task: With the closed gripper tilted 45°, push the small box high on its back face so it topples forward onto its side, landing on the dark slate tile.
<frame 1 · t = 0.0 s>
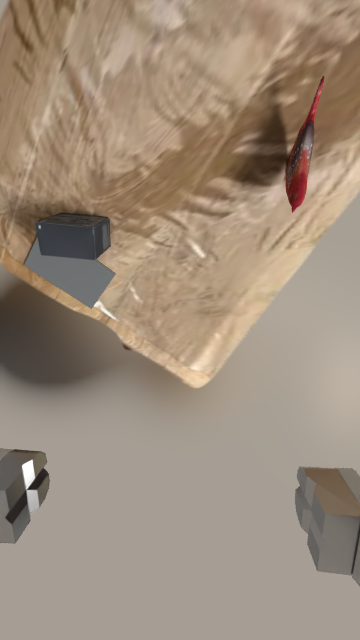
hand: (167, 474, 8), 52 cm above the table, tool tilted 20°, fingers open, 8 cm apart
decorative bird figurine: (293, 151, 47), on the table
slate tile: (70, 268, 62), on the table
small box: (86, 230, 57), on the table, touching slate tile
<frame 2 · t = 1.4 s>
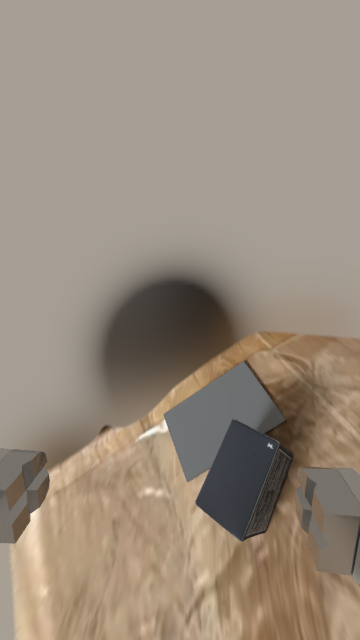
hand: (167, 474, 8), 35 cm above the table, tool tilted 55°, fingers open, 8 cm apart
slate tile: (218, 417, 45), on the table
small box: (258, 478, 37), on the table, touching slate tile
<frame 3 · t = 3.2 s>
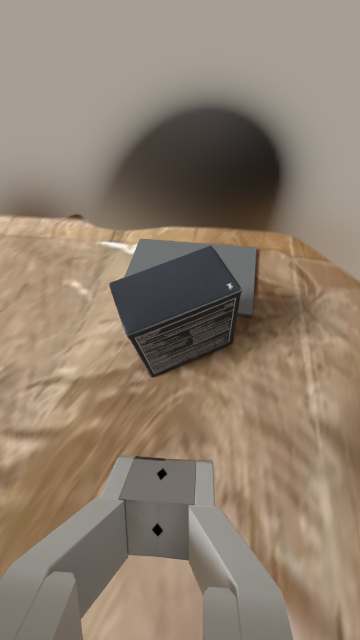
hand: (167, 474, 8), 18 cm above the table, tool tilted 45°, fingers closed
slate tile: (189, 274, 38), on the table
small box: (182, 338, 32), on the table, touching slate tile
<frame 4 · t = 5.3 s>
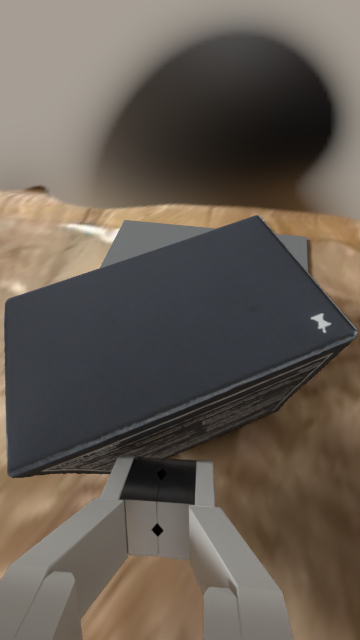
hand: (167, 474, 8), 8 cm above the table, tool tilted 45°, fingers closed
slate tile: (198, 277, 23), on the table
small box: (184, 394, 18), on the table, touching gripper, slate tile
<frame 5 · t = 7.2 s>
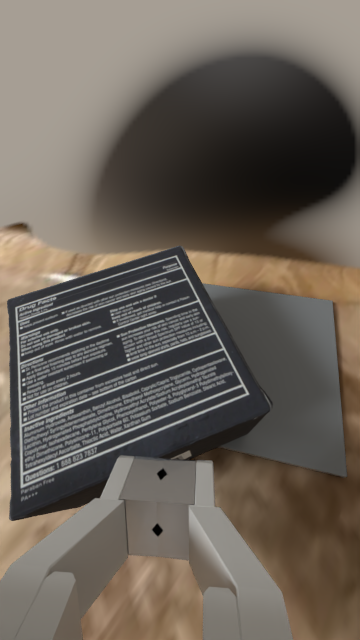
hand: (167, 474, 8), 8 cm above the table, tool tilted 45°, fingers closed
slate tile: (202, 352, 19), on the table
small box: (162, 472, 12), point 4 cm above the table, touching slate tile
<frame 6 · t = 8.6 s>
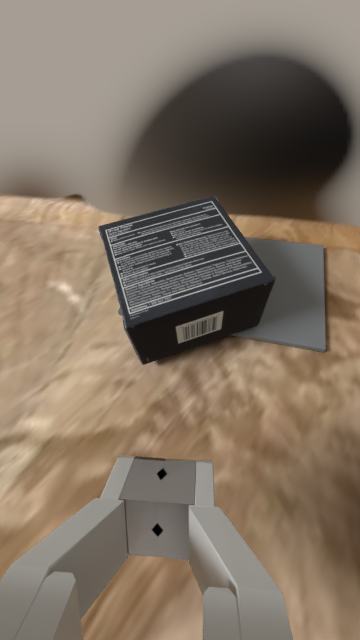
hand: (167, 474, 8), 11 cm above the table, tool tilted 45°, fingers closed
slate tile: (224, 280, 26), on the table
small box: (204, 330, 19), point 4 cm above the table, touching slate tile
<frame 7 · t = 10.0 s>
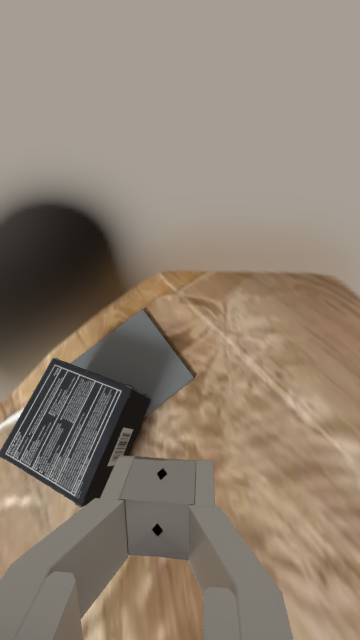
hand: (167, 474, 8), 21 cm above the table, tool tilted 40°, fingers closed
slate tile: (109, 385, 33), on the table
small box: (124, 445, 26), point 4 cm above the table, touching slate tile
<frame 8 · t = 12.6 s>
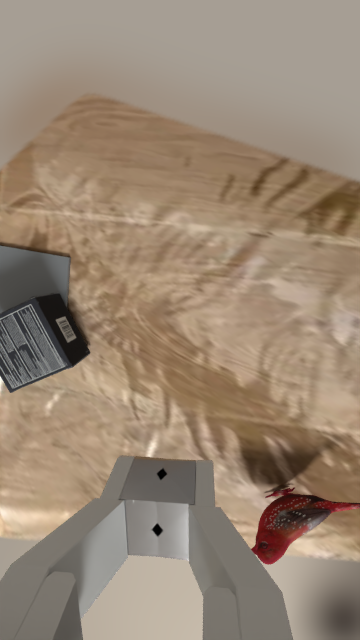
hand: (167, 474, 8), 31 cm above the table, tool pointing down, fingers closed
decorative bird figurine: (291, 485, 44), on the table
slate tile: (29, 309, 41), on the table
small box: (67, 326, 37), point 4 cm above the table, touching slate tile
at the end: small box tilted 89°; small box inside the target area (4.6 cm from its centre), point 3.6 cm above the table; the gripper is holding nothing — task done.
